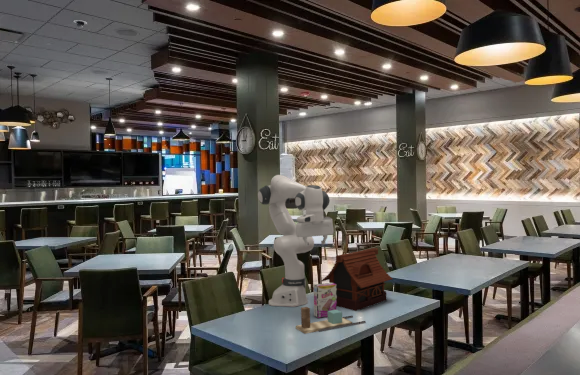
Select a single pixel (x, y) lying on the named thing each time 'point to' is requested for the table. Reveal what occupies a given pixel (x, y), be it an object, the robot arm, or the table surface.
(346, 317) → the track
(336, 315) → the cube
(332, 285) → the candy bar box
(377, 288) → the house
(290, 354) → the table surface
